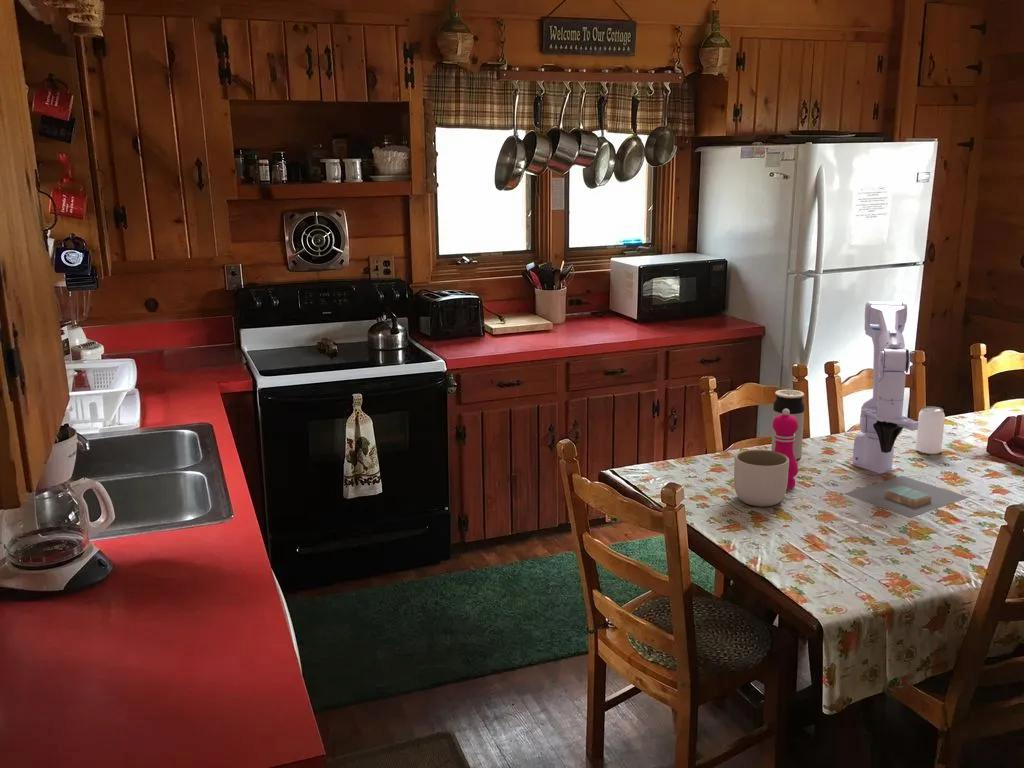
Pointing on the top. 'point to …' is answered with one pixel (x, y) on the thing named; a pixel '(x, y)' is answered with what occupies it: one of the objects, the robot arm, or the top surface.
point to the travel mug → (796, 408)
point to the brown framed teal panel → (908, 496)
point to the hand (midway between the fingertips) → (886, 451)
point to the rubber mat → (877, 497)
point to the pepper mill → (786, 441)
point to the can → (930, 430)
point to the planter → (760, 477)
